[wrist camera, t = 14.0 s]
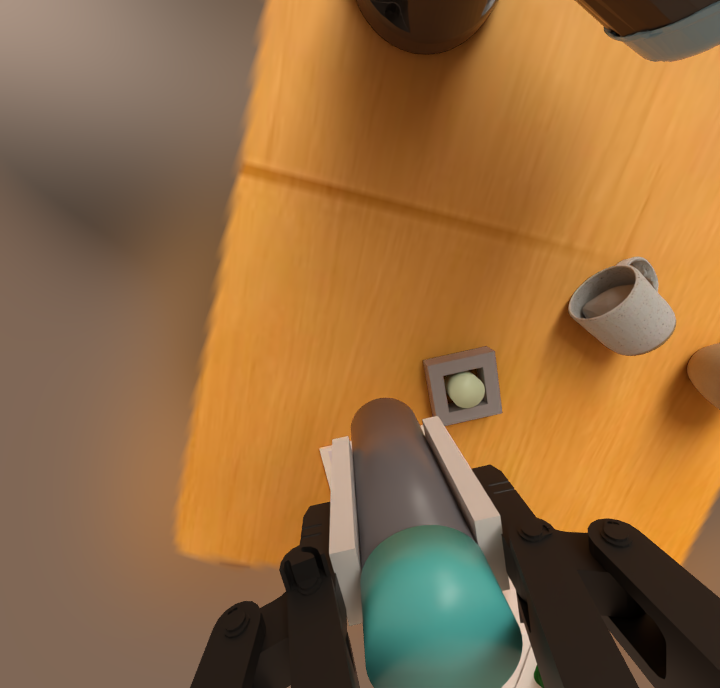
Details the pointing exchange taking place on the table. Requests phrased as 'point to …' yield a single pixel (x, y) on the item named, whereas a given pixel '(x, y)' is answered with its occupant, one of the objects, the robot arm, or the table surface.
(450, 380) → the button cap
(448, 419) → the button housing
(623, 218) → the table surface
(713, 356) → the flower pot
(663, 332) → the ceramic mug
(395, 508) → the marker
